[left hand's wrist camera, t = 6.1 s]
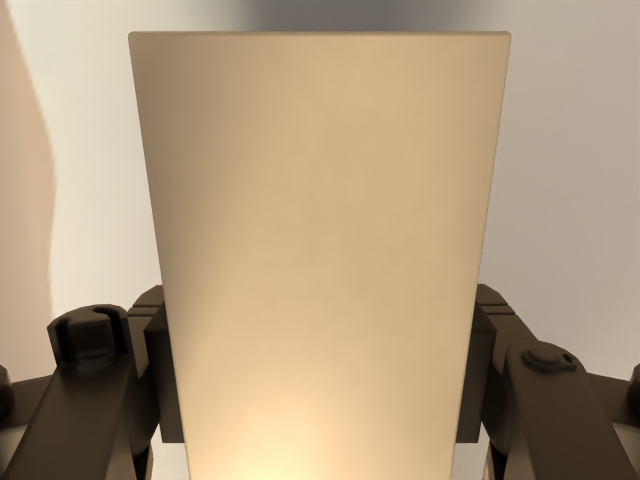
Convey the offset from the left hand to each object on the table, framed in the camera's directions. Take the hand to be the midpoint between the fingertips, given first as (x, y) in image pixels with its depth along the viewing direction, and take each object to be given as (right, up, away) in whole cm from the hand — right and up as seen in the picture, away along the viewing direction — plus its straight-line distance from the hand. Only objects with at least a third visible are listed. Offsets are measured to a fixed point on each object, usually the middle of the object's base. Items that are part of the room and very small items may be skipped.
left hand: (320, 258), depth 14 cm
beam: (0, -23, +9) cm, 25 cm away
